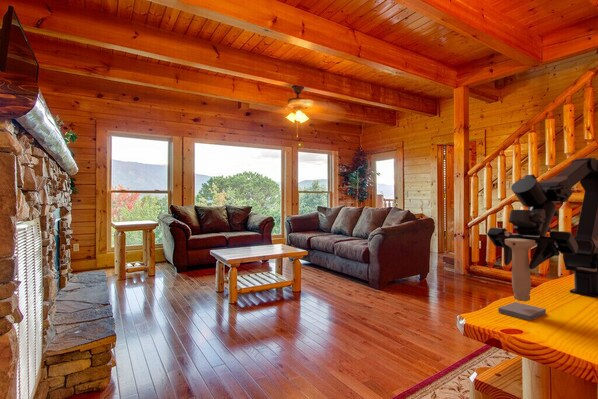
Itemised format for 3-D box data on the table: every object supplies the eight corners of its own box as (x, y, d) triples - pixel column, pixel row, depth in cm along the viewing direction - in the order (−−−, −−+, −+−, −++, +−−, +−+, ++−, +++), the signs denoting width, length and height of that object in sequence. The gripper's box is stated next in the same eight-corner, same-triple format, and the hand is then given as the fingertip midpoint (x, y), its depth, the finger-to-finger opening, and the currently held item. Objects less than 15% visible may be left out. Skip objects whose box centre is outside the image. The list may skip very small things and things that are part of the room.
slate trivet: (515, 306, 86) (515, 301, 86) (545, 313, 80) (545, 309, 80) (498, 312, 82) (498, 307, 82) (529, 320, 76) (529, 315, 76)
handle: (530, 305, 78) (527, 242, 77) (503, 298, 83) (500, 239, 83) (541, 301, 80) (539, 240, 80) (514, 295, 85) (512, 237, 85)
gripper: (489, 198, 91) (467, 242, 86) (570, 197, 75) (550, 250, 70) (505, 224, 95) (485, 267, 90) (586, 228, 79) (568, 281, 74)
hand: (517, 266), depth 81 cm, fingers closed on handle, 5 cm apart
